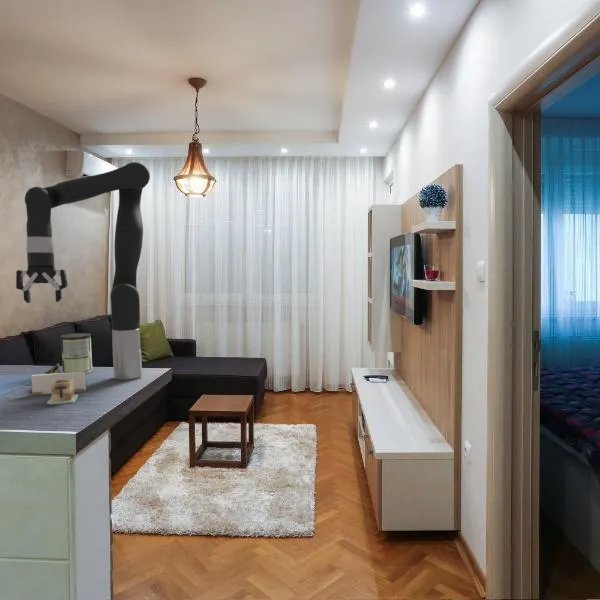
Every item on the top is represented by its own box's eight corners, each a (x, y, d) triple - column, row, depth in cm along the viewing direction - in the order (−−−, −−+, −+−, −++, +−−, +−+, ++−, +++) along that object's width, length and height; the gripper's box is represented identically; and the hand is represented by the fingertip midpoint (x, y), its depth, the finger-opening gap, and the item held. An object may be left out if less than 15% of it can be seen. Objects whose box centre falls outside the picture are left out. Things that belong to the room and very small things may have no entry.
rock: (61, 386, 149) (69, 362, 156) (36, 380, 145) (46, 355, 153) (52, 401, 153) (60, 377, 160) (28, 395, 150) (38, 371, 157)
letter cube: (74, 395, 141) (73, 378, 141) (70, 399, 136) (70, 382, 136) (55, 396, 140) (55, 380, 140) (51, 401, 135) (51, 384, 135)
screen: (86, 389, 151) (85, 370, 150) (84, 391, 148) (83, 373, 147) (34, 393, 147) (33, 374, 146) (31, 395, 144) (30, 376, 143)
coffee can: (57, 372, 175) (55, 335, 174) (83, 367, 183) (81, 332, 182) (71, 376, 169) (69, 337, 168) (98, 370, 177) (96, 334, 176)
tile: (78, 396, 143) (78, 394, 143) (73, 402, 136) (73, 400, 136) (52, 398, 141) (52, 396, 141) (47, 404, 134) (46, 402, 134)
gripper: (67, 251, 155) (69, 300, 156) (19, 252, 151) (21, 302, 152) (62, 251, 147) (64, 302, 149) (11, 251, 144) (14, 303, 145)
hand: (43, 302), depth 150 cm, fingers open, 8 cm apart
